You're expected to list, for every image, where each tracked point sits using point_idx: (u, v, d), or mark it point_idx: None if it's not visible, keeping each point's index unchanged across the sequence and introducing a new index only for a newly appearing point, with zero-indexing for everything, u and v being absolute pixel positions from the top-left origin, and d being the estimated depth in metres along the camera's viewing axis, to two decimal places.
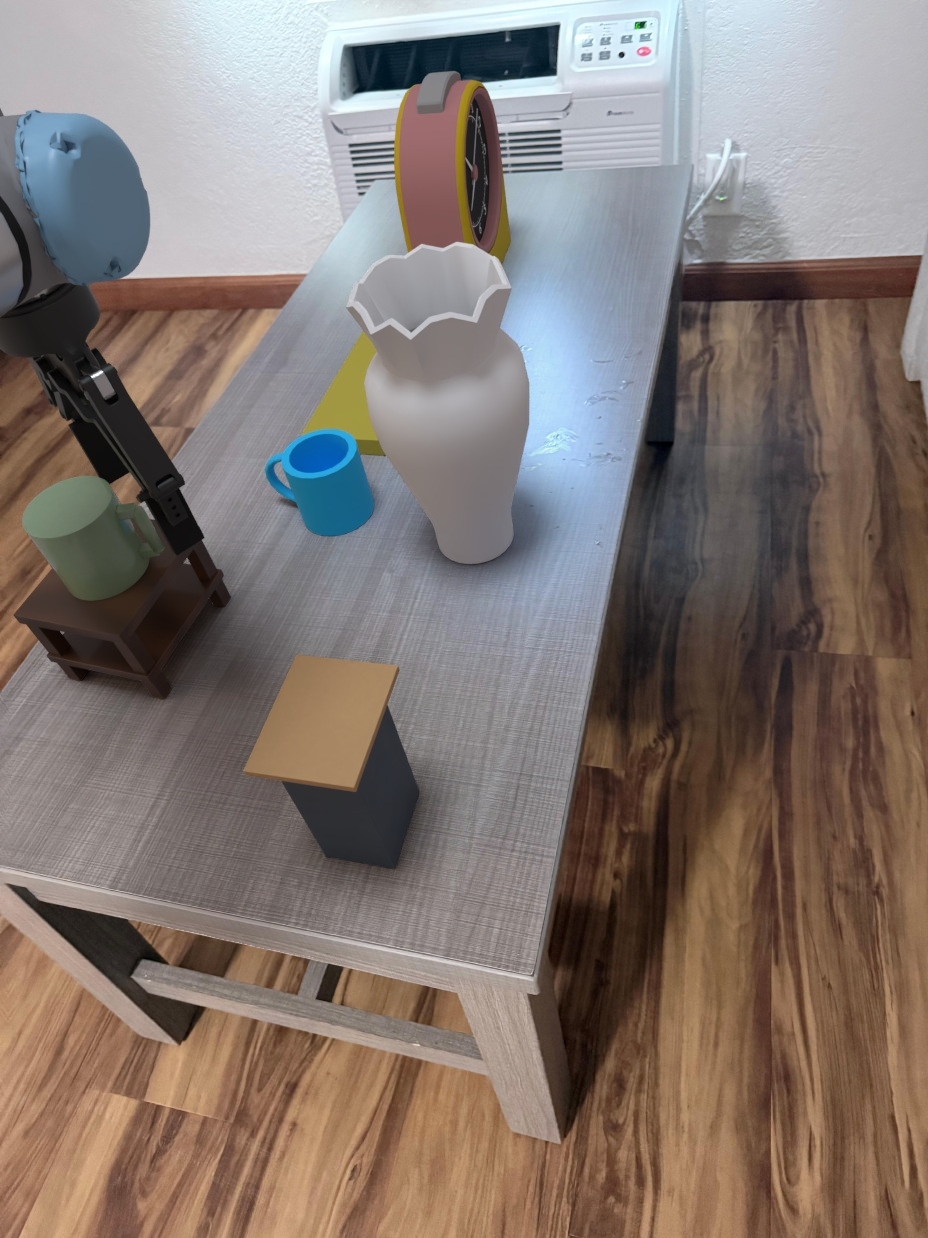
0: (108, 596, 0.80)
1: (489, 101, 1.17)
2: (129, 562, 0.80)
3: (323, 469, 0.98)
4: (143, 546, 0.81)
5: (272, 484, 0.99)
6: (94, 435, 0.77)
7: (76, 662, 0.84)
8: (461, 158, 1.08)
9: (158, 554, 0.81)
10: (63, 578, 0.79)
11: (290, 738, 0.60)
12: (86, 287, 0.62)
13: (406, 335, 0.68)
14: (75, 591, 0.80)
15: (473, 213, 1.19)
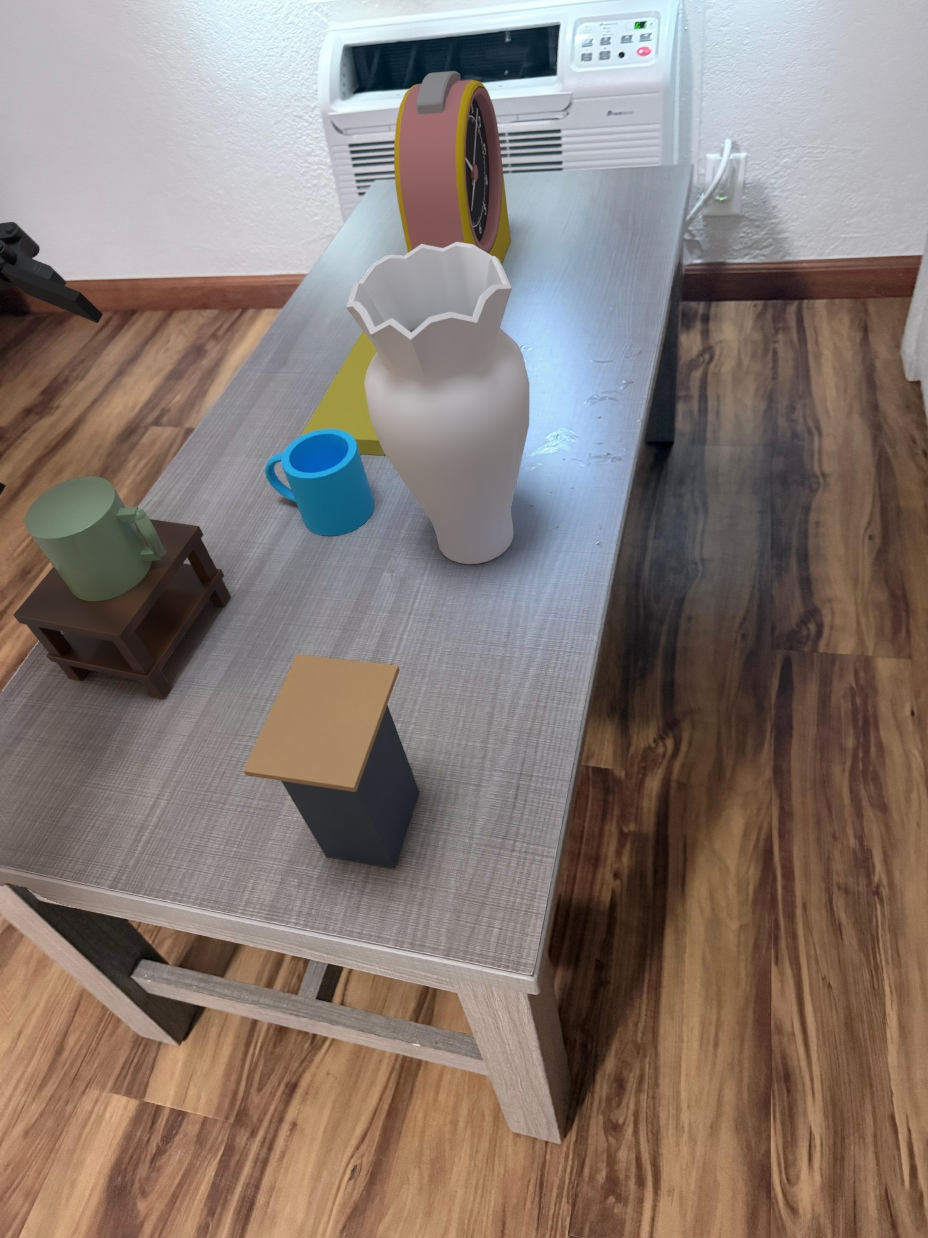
0: (107, 598, 0.80)
1: (489, 101, 1.17)
2: (129, 565, 0.79)
3: (323, 469, 0.98)
4: (145, 549, 0.81)
5: (272, 484, 0.99)
6: None
7: (76, 662, 0.84)
8: (461, 158, 1.08)
9: (159, 558, 0.81)
10: (63, 578, 0.79)
11: (290, 738, 0.60)
12: None
13: (406, 335, 0.68)
14: (75, 591, 0.80)
15: (473, 213, 1.19)
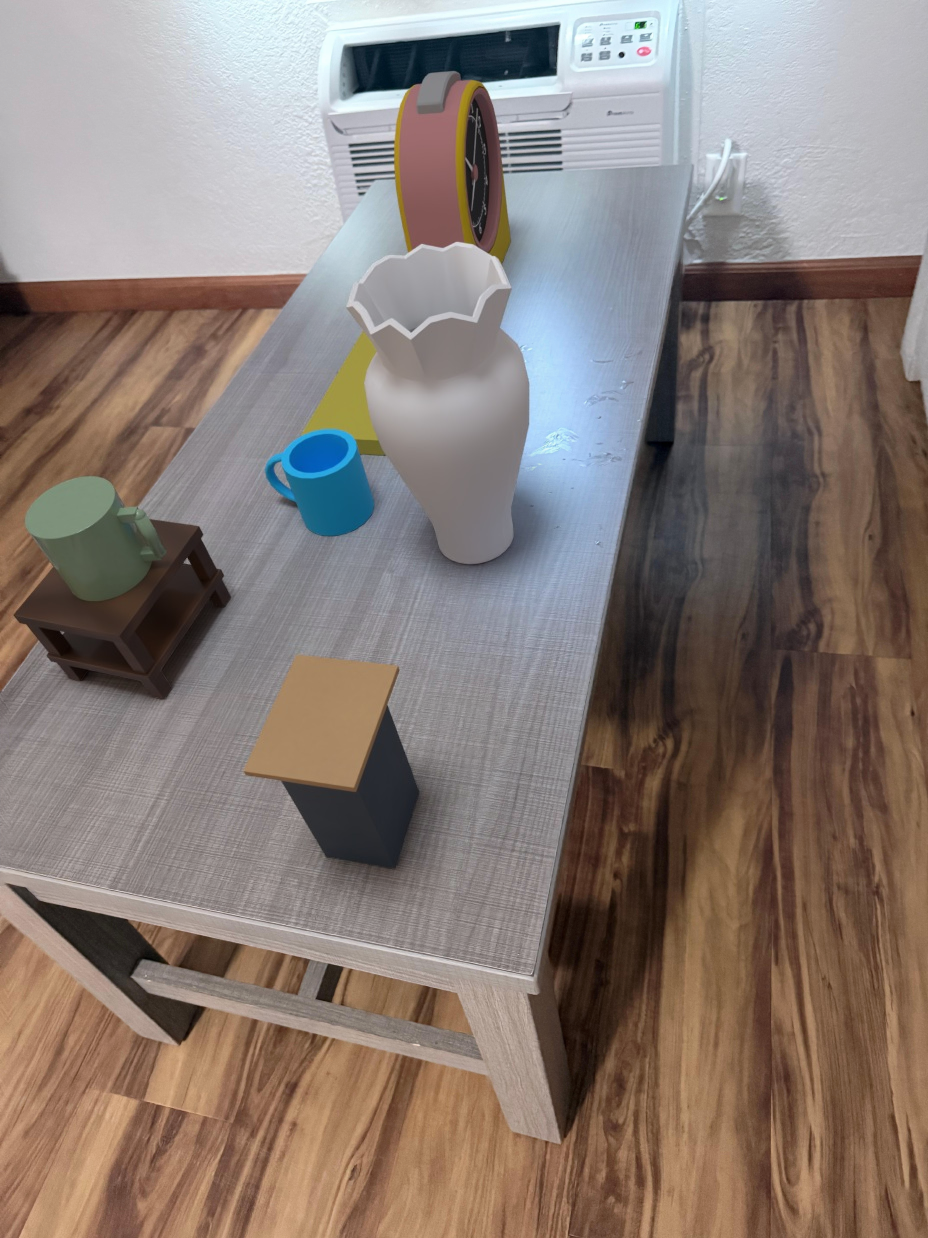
0: (107, 598, 0.80)
1: (489, 101, 1.17)
2: (129, 565, 0.79)
3: (323, 469, 0.98)
4: (145, 549, 0.81)
5: (272, 484, 0.99)
6: None
7: (76, 662, 0.84)
8: (461, 158, 1.08)
9: (159, 558, 0.81)
10: (63, 578, 0.79)
11: (290, 738, 0.60)
12: None
13: (406, 335, 0.68)
14: (75, 591, 0.80)
15: (473, 213, 1.19)
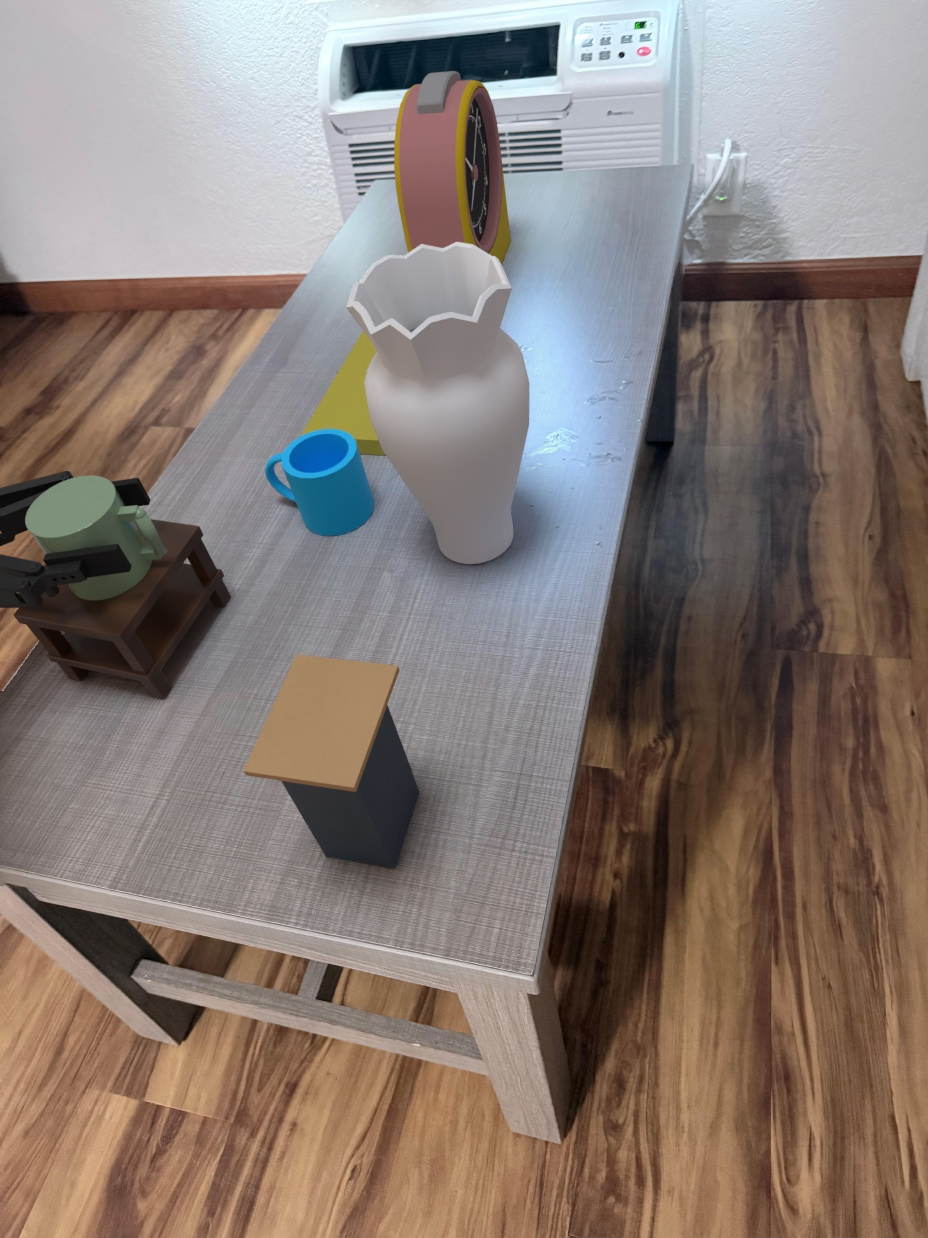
0: (108, 597, 0.80)
1: (489, 101, 1.17)
2: None
3: (323, 469, 0.98)
4: (145, 548, 0.81)
5: (272, 484, 0.99)
6: None
7: (76, 662, 0.84)
8: (461, 158, 1.08)
9: (160, 557, 0.81)
10: None
11: (290, 738, 0.60)
12: None
13: (406, 335, 0.68)
14: (76, 590, 0.80)
15: (473, 213, 1.19)
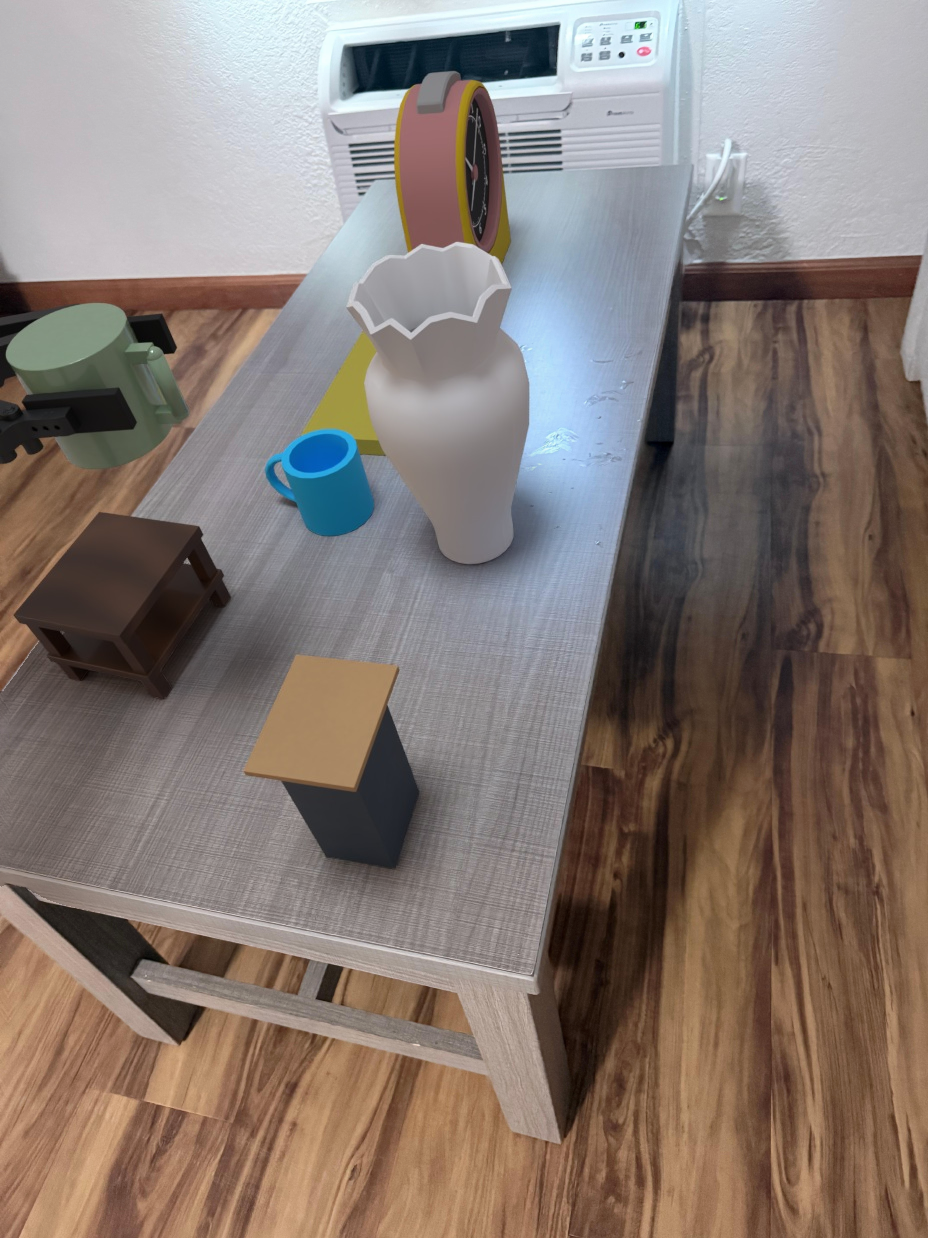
0: (107, 466, 0.61)
1: (489, 101, 1.17)
2: (138, 424, 0.60)
3: (323, 469, 0.98)
4: (162, 407, 0.61)
5: (272, 484, 0.99)
6: None
7: (76, 662, 0.84)
8: (461, 158, 1.08)
9: (179, 421, 0.61)
10: None
11: (290, 738, 0.60)
12: None
13: (406, 335, 0.68)
14: (68, 453, 0.61)
15: (473, 213, 1.19)
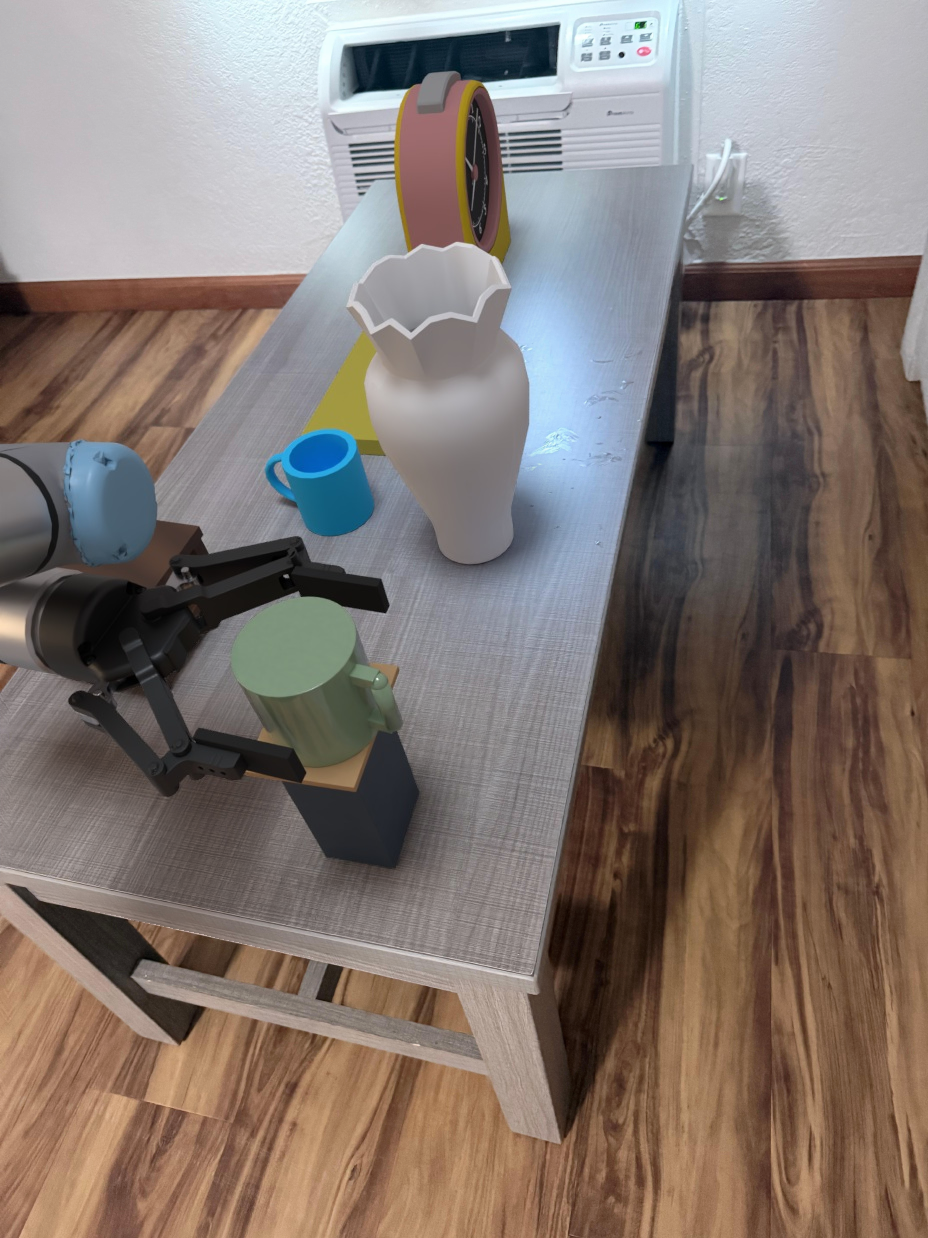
0: (311, 766, 0.58)
1: (489, 101, 1.17)
2: (349, 735, 0.57)
3: (323, 469, 0.98)
4: (375, 714, 0.58)
5: (272, 484, 0.99)
6: None
7: None
8: (461, 158, 1.08)
9: (391, 732, 0.58)
10: (263, 726, 0.58)
11: None
12: None
13: (406, 335, 0.68)
14: None
15: (473, 213, 1.19)
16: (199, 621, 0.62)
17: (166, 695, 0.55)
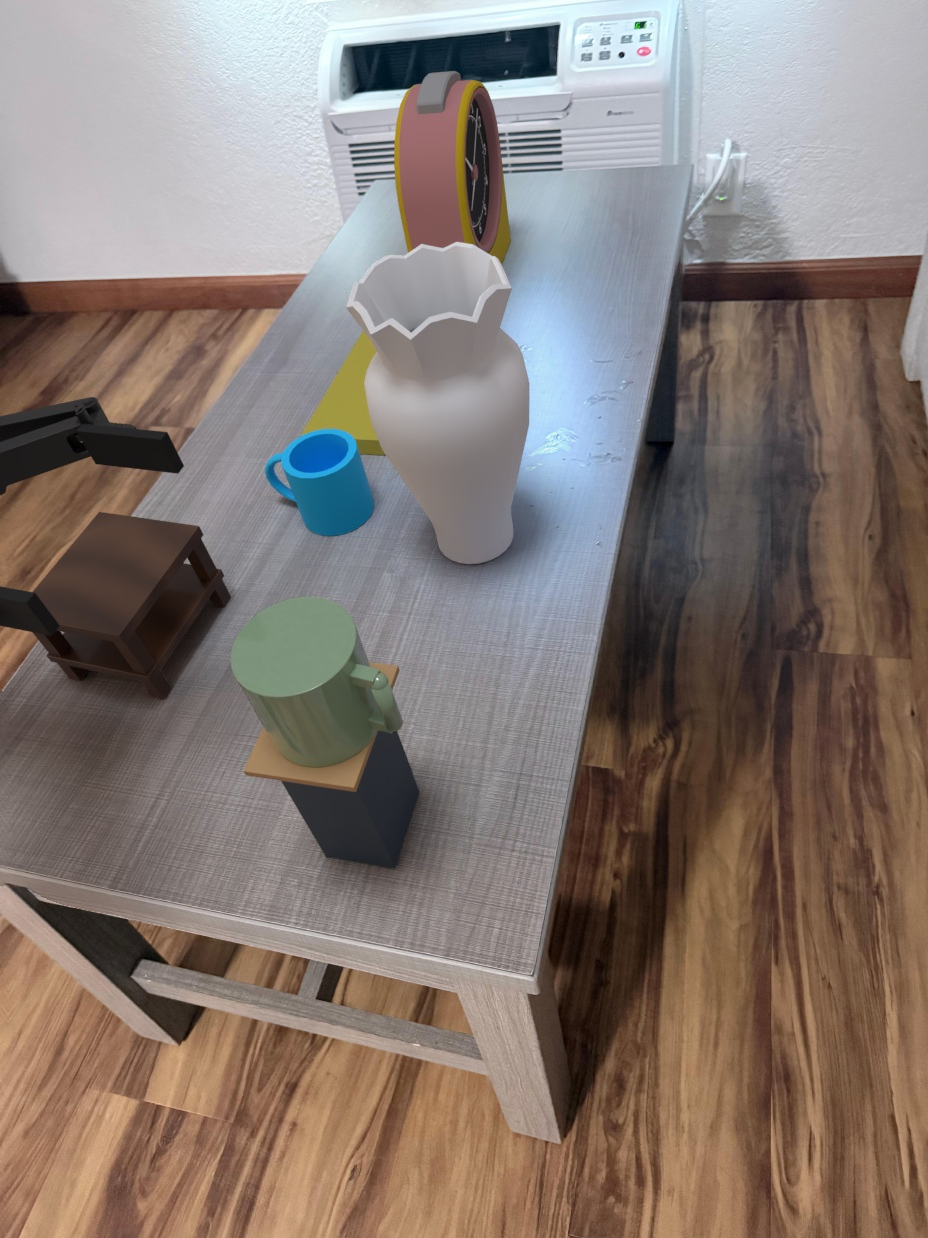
0: (311, 766, 0.58)
1: (489, 101, 1.17)
2: (349, 735, 0.57)
3: (323, 469, 0.98)
4: (375, 714, 0.58)
5: (272, 484, 0.99)
6: None
7: (76, 662, 0.84)
8: (461, 158, 1.08)
9: (391, 732, 0.58)
10: (263, 726, 0.58)
11: None
12: None
13: (406, 335, 0.68)
14: (274, 744, 0.59)
15: (473, 213, 1.19)
16: None
17: None
